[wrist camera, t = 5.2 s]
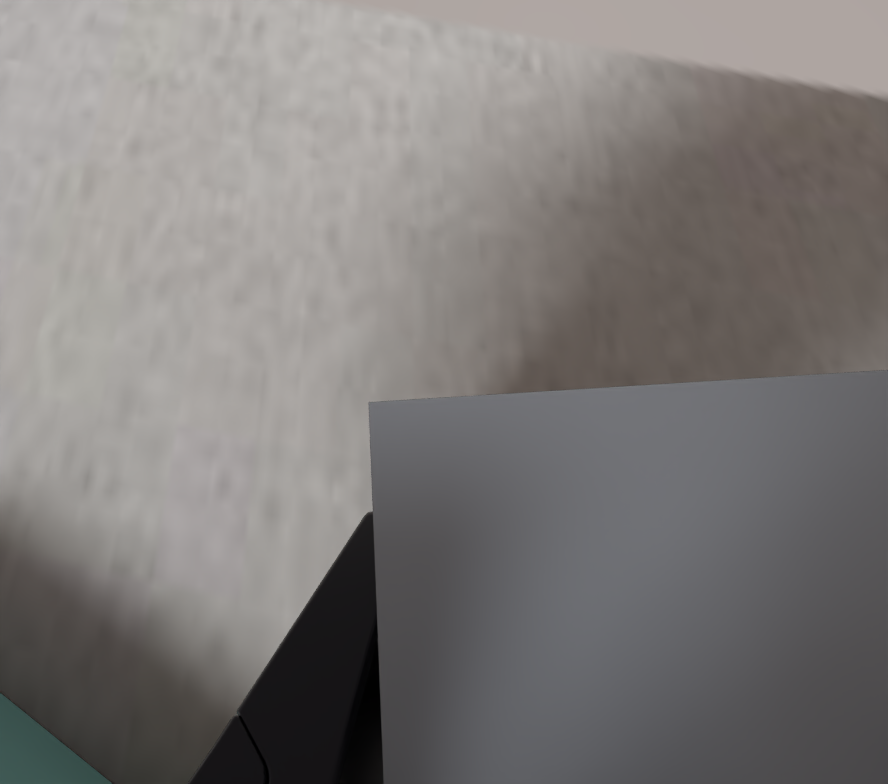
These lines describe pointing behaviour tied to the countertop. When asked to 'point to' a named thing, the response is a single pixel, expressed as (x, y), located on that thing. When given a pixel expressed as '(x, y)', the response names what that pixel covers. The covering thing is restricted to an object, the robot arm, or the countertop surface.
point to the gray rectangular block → (635, 583)
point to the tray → (37, 753)
